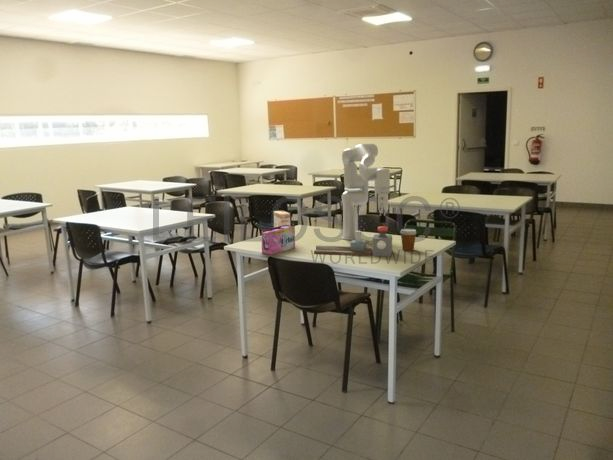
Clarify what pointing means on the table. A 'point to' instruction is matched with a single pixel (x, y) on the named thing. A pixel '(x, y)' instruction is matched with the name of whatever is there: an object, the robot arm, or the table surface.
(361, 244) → the carriage
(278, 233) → the gum box
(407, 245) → the disposable coffee cup
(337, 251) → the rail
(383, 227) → the gauge button
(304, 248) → the table surface
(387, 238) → the gauge cabinet
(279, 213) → the coffeecake box
